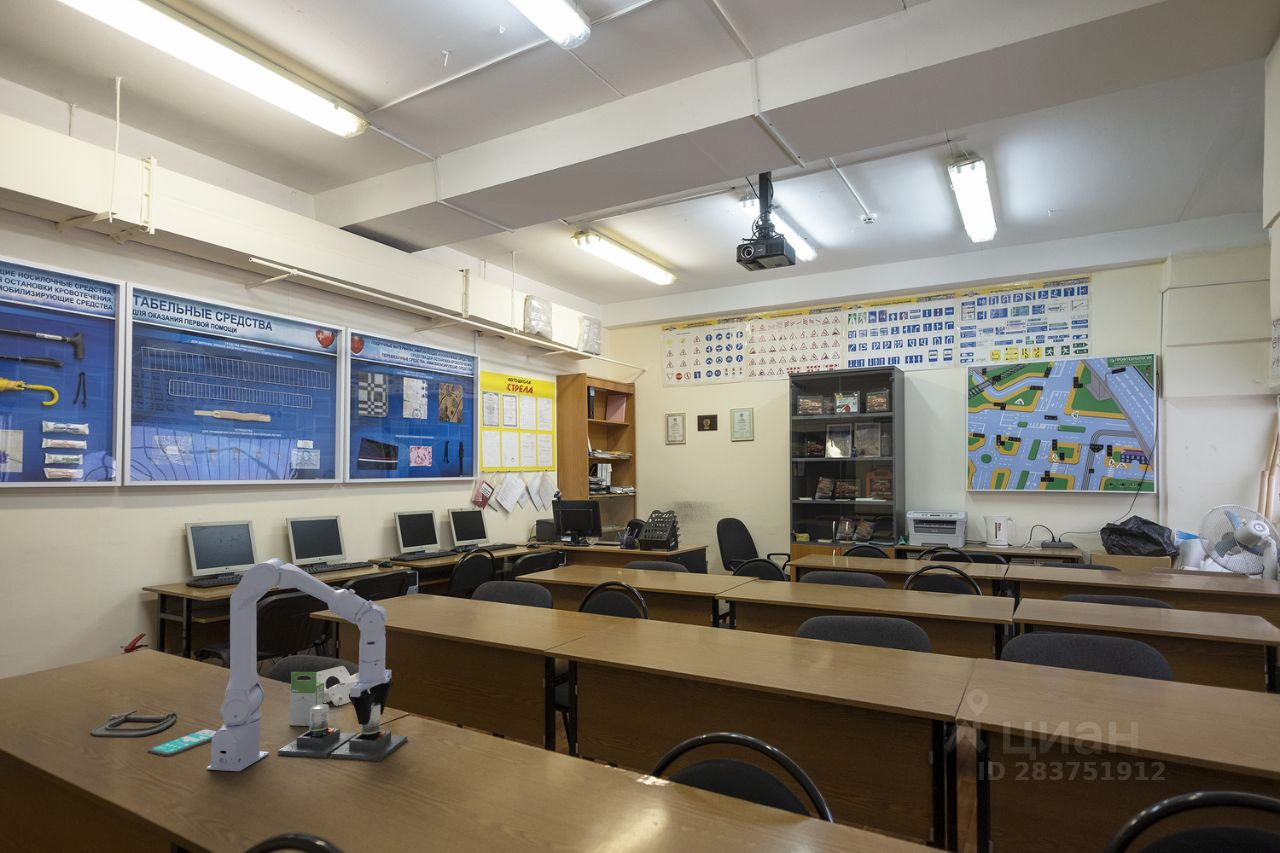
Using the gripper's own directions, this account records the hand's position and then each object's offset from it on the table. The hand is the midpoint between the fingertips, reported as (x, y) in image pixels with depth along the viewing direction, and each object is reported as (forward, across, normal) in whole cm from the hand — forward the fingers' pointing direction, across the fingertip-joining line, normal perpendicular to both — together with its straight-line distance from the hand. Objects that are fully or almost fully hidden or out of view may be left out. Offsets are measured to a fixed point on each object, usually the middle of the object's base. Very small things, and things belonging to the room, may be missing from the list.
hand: (370, 719), depth 158 cm
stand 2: (+7, 0, 0) cm, 7 cm away
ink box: (+7, +13, +25) cm, 29 cm away
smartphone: (+7, -2, +45) cm, 46 cm away
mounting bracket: (+7, +32, +27) cm, 42 cm away
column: (+3, 0, 0) cm, 3 cm away
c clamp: (+8, +7, +67) cm, 68 cm away
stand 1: (+7, 0, +13) cm, 15 cm away
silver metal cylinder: (+4, 0, +13) cm, 14 cm away
